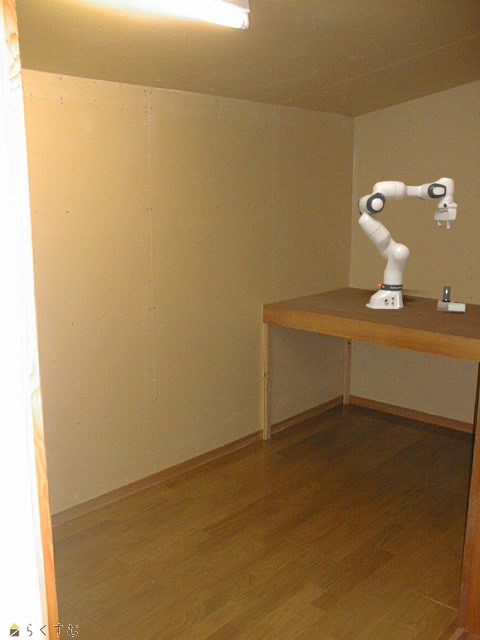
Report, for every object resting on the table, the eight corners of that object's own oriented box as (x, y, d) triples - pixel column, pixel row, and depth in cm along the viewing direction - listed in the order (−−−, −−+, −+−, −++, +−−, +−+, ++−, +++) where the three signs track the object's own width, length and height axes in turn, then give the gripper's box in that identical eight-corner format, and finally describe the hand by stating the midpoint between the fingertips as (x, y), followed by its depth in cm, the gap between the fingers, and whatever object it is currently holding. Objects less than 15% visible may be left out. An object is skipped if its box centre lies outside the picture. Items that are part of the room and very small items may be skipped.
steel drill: (444, 306, 356) (445, 287, 354) (441, 305, 360) (442, 286, 357) (450, 306, 356) (452, 286, 354) (447, 305, 360) (448, 286, 358)
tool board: (465, 314, 340) (465, 311, 340) (436, 312, 345) (436, 309, 345) (464, 308, 360) (464, 305, 360) (437, 306, 366) (437, 304, 365)
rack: (464, 311, 341) (465, 306, 341) (448, 310, 344) (448, 305, 344) (464, 308, 350) (464, 303, 349) (448, 307, 352) (448, 302, 352)
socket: (453, 307, 352) (454, 302, 352) (437, 306, 355) (438, 302, 355) (453, 305, 361) (454, 300, 360) (438, 304, 364) (438, 299, 363)
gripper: (432, 205, 366) (430, 227, 369) (448, 204, 347) (447, 228, 349) (441, 205, 367) (440, 227, 370) (458, 205, 348) (457, 228, 350)
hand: (443, 228), depth 359 cm, fingers open, 8 cm apart
